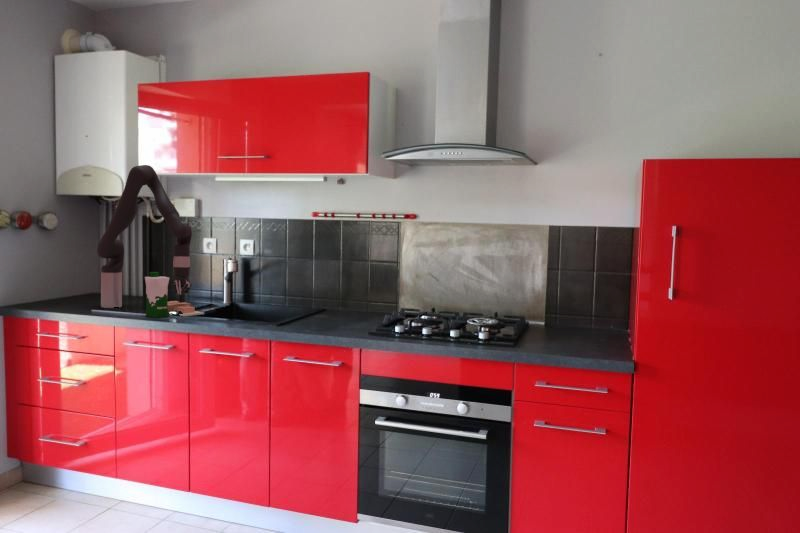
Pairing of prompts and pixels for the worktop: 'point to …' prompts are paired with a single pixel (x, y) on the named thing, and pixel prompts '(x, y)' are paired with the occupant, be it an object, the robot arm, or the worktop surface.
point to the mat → (192, 313)
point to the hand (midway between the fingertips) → (181, 302)
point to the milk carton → (156, 295)
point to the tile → (184, 309)
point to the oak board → (176, 303)
